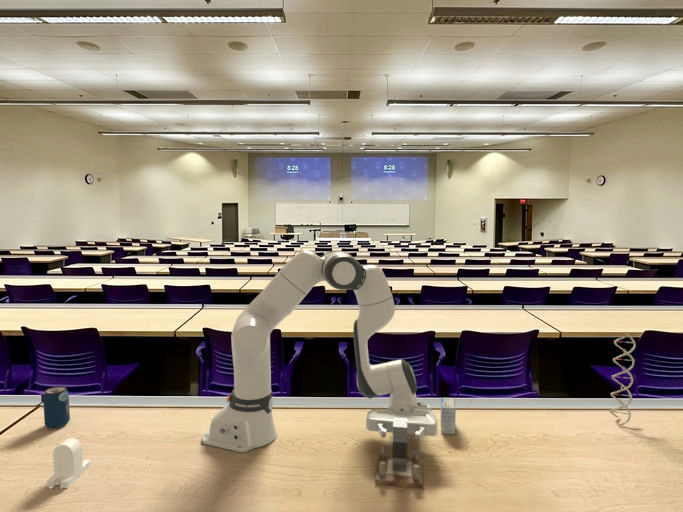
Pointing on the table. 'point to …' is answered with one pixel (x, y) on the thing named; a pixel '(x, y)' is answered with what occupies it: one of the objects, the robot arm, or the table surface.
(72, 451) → the cable organizer
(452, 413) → the medicine box
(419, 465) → the peg cradle
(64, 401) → the soda can
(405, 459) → the grey rectangular block
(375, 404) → the table surface
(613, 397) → the dna model
